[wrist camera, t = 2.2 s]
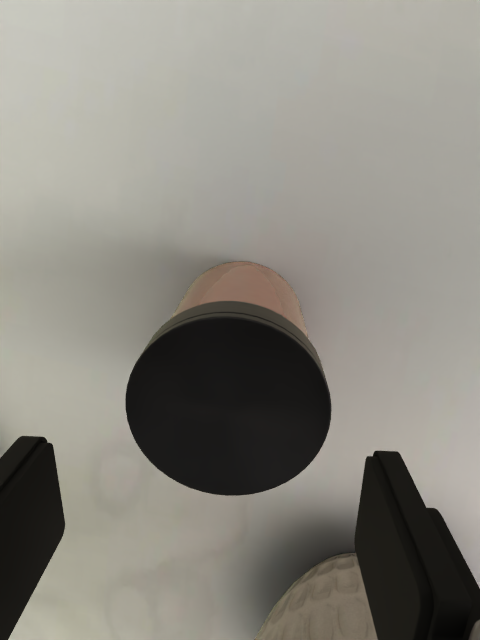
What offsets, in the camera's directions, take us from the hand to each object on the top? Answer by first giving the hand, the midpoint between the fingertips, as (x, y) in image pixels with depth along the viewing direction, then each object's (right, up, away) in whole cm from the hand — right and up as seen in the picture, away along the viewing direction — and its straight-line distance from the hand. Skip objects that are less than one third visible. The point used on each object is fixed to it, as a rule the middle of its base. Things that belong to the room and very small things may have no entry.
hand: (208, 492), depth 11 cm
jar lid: (0, +1, +4) cm, 4 cm away
